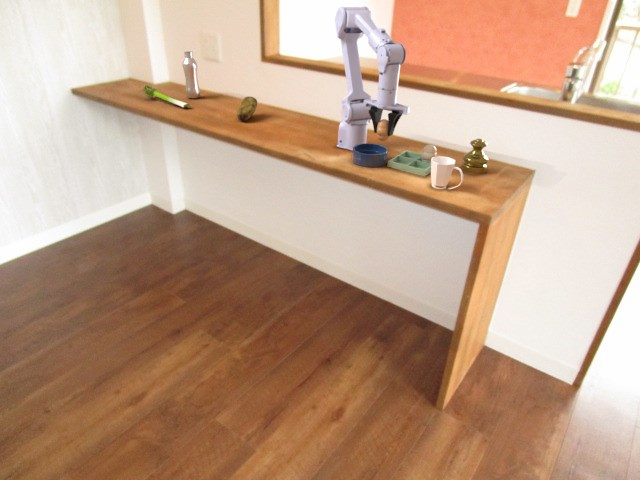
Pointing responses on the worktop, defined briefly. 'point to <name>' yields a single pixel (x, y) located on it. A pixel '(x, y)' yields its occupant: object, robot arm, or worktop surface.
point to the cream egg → (428, 153)
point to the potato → (246, 108)
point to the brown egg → (383, 130)
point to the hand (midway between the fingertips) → (383, 133)
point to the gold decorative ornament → (475, 158)
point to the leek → (163, 96)
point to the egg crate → (410, 163)
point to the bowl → (369, 155)
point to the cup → (443, 171)
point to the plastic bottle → (191, 75)
